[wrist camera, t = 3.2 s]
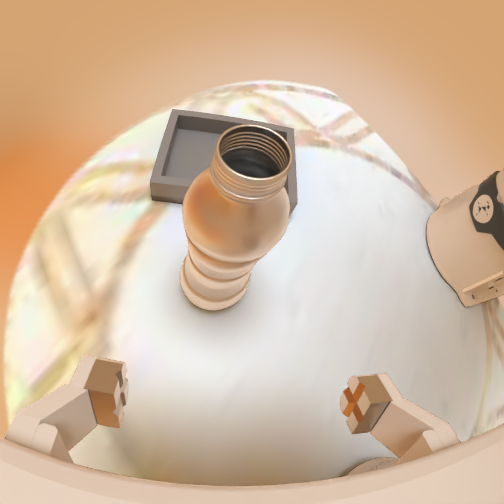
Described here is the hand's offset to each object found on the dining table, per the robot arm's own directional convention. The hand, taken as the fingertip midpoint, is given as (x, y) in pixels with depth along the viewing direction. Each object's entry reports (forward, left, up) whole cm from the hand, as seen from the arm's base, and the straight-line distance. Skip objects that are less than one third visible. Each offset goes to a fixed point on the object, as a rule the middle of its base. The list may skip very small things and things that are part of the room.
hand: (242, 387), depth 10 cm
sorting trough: (0, -25, -19) cm, 32 cm away
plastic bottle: (0, -10, -20) cm, 22 cm away
